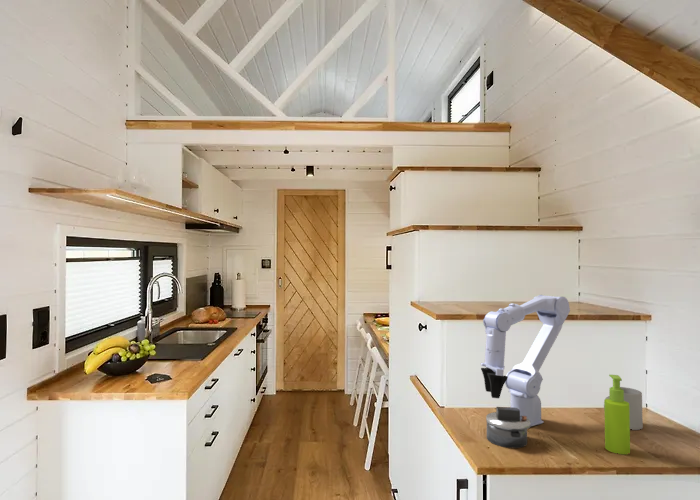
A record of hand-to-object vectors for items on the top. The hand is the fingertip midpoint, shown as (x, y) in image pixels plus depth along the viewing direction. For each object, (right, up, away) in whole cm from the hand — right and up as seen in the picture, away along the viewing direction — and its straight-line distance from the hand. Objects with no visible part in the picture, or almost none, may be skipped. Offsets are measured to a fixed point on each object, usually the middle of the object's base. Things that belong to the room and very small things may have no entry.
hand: (492, 394), depth 131 cm
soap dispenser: (+30, -10, -14) cm, 35 cm away
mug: (+43, -11, +4) cm, 44 cm away
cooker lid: (+2, -5, -9) cm, 10 cm away
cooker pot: (+1, -10, -9) cm, 13 cm away
